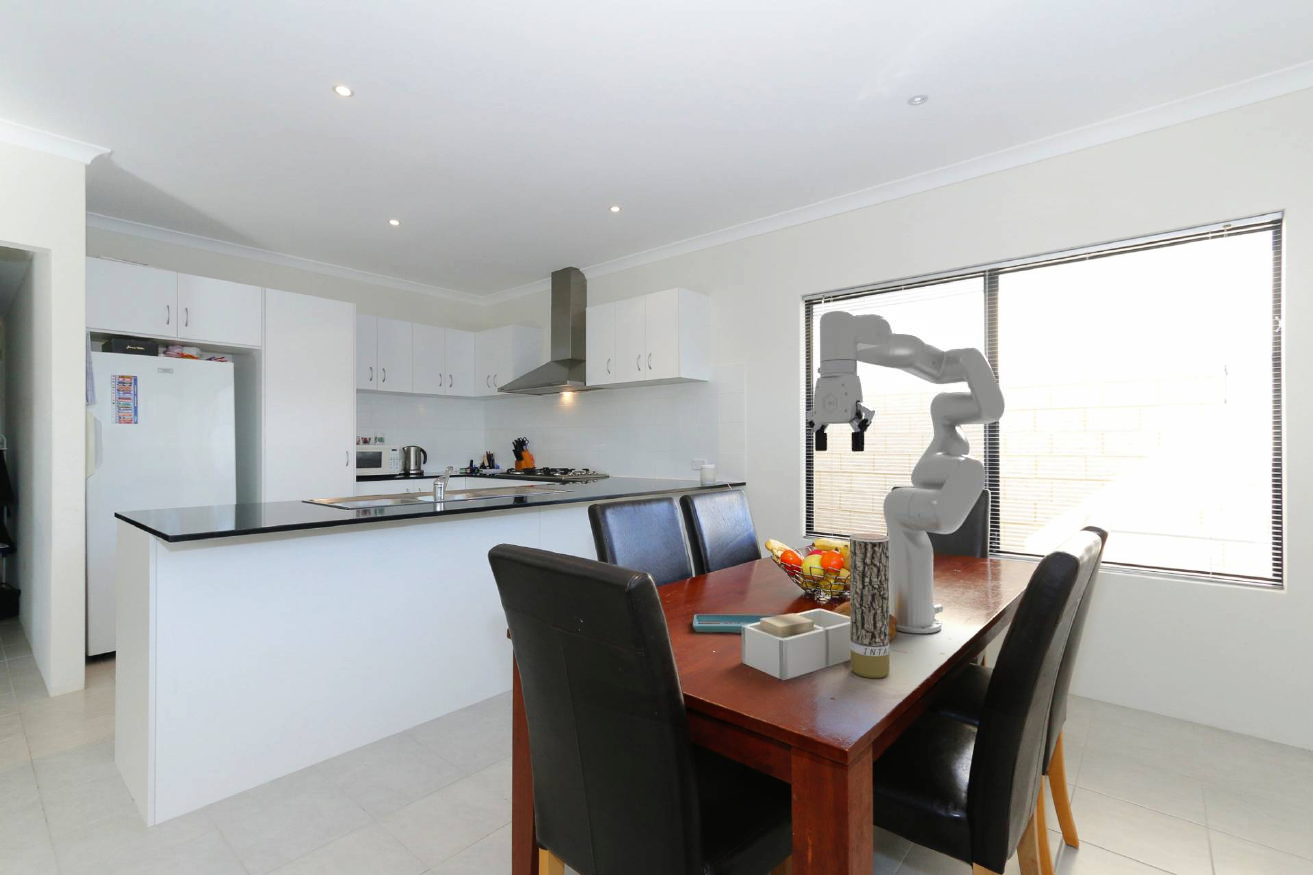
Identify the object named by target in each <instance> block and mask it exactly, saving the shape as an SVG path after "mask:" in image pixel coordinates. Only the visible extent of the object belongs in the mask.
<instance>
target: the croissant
mask: <svg viewBox="0 0 1313 875" xmlns="http://www.w3.org/2000/svg"><path fill="white" fill-rule="evenodd" d="M831 612H834V613H838V614H841V615H845V616H849V617H850V600H849V601H845V602H843V603H841V604H840V605H838V606H836V607H835V608H834V609H833V610H832V611H831ZM897 623H898V621H897V620H896V619H895V617H893V616H892V615H891V614H889V637H890V641H891V640H893V639H894V637H895V636H896V635H897V626H896V625H897Z"/></svg>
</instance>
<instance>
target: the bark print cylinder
mask: <svg viewBox="0 0 1313 875" xmlns="http://www.w3.org/2000/svg"><path fill="white" fill-rule="evenodd" d="M888 538H889V537H888V535H884V534H878V533H852V534H850V535H849V595H850V596H849V601H850V648H851V660H850V669H851V671H852V672H853V673H854V674H856V675H857V676H860V677H863V678H870V679H882V678H885V677H887V676H888V675H889V673H890V670H891V669H890V650H891V649H890V648H891V646H890V645H891V644H890V643H891V642H890V641H891V640H890V637H889V539H888Z"/></svg>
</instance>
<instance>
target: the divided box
mask: <svg viewBox="0 0 1313 875" xmlns="http://www.w3.org/2000/svg"><path fill="white" fill-rule="evenodd" d="M795 614H796V615H799V616H802V617H804V618H807V619H809V620H812V621H814V631H811V632H807V633H803V634H799V635H795V636H791V637H787V638H780V637H777V636H775V635H772V634H769V633H766V632H763V631H761V630H760V622H757V623H753V624H748V625H744V626H742V633H741V663H742V664H745V665H747V666H748V667H752V668H754V669H756V670H758V671H759V672H760V671H761V672H764V673H766V674H767V675H769V676H772V677H774V678H777V679H779V680H781V681H786V680H789V679H793V678H796V677H799V676H803V675H805V674H810V673H812V672H816V671H818V670H823V669H825V668H829V667H833V666H835V665H839V664H842V663H845V662H848V661H851V648H850V617H849V616H845V615H841V614H838V613H834V612H832V611H831V610H826V609H823V608H815V609H811V610H806V611H803V612H798V613H797V612H796V613H795Z"/></svg>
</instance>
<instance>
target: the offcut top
mask: <svg viewBox="0 0 1313 875" xmlns="http://www.w3.org/2000/svg"><path fill="white" fill-rule="evenodd" d="M796 614H797V613H794V612H792V613H786V614H778V615H779V616H773V617H767V618H761V619H760V630H761V631H763V632H766V633H769V634H772V635H775V636H777V637H780V638H787V637H791V636H795V635H799V634H803V633H807V632H811V631H814V621H812V620H809V619H807V618H804V617H802V616H799V615H796Z"/></svg>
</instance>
